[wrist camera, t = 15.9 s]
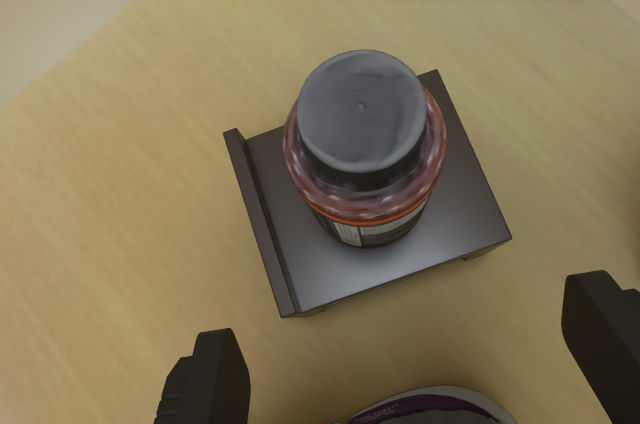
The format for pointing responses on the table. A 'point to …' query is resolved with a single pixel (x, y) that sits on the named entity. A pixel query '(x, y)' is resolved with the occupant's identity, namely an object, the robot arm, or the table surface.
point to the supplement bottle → (365, 147)
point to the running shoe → (434, 408)
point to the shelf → (355, 262)
